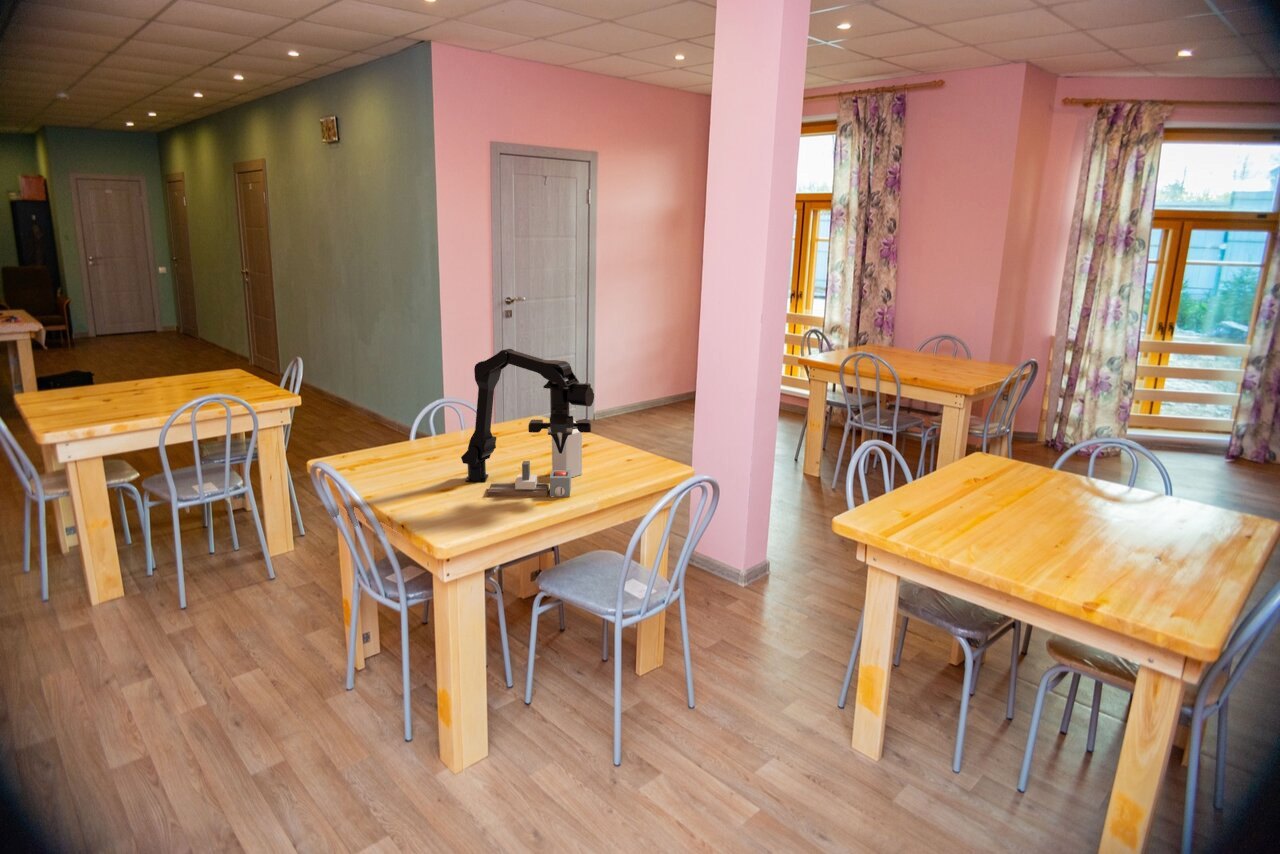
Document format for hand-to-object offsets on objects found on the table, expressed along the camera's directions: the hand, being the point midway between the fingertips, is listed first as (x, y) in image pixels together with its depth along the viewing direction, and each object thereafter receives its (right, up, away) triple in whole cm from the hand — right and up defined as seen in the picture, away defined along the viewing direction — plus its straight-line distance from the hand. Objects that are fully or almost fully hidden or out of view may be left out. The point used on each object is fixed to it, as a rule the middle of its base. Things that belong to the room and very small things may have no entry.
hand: (560, 453), depth 233 cm
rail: (-13, -12, +3) cm, 18 cm away
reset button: (0, -8, +2) cm, 8 cm away
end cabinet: (0, -12, +3) cm, 13 cm away
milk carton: (0, -8, +21) cm, 22 cm away
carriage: (-11, -10, +2) cm, 15 cm away
